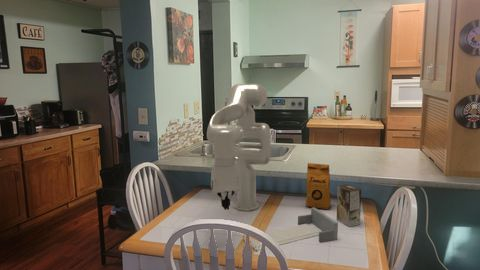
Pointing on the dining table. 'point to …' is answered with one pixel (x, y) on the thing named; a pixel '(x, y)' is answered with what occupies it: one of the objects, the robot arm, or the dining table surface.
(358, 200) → the coffee box
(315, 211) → the u-shaped bracket
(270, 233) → the baseboard molding
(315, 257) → the dining table surface
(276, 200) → the dining table surface
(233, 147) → the robot arm
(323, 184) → the coffee package
